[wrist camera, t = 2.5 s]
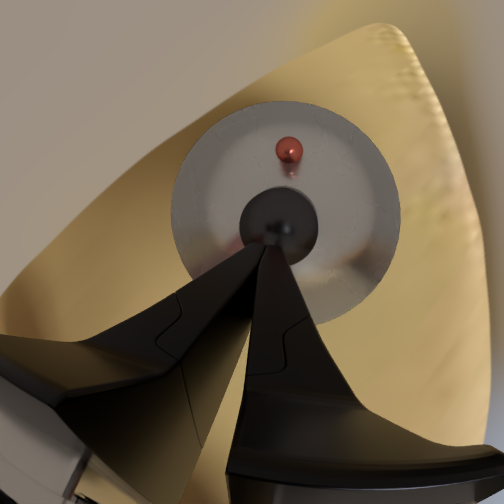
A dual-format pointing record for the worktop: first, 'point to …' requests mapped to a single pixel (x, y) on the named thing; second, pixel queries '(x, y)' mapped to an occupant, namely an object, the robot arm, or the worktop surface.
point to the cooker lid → (291, 201)
